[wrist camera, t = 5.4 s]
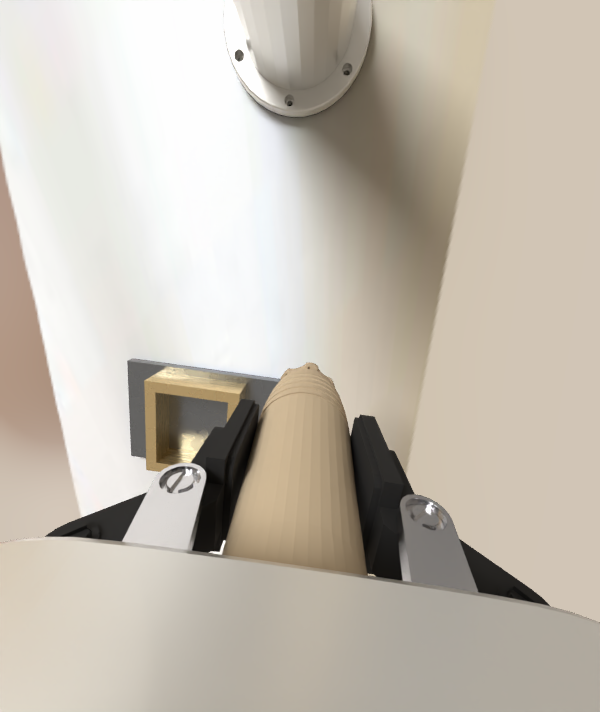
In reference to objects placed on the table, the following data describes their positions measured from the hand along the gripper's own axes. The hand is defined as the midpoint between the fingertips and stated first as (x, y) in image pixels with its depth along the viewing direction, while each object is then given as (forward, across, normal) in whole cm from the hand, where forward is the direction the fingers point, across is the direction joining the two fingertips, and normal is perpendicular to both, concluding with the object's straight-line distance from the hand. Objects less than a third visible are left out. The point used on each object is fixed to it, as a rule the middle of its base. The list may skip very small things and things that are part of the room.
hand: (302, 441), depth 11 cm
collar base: (+21, +12, +12) cm, 27 cm away
